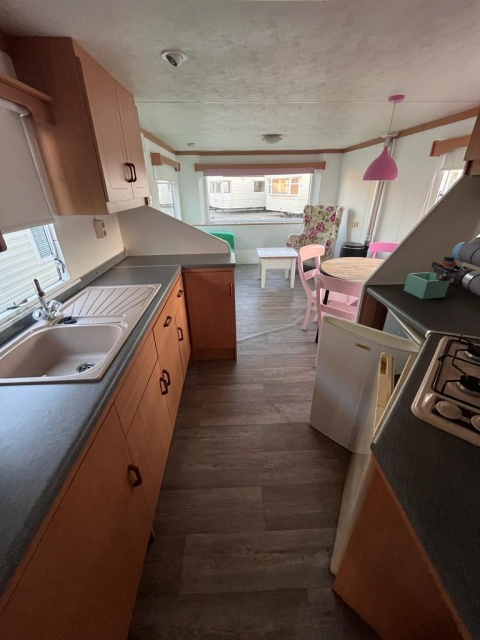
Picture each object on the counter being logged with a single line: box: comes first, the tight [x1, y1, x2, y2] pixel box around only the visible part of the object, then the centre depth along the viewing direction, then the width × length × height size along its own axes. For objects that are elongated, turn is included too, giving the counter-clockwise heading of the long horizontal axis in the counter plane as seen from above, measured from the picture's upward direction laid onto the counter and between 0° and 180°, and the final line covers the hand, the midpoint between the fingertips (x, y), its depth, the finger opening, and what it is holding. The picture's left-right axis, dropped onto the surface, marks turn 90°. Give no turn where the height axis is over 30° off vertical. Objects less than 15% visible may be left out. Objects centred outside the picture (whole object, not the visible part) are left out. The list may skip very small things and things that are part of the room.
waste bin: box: [403, 271, 452, 300], centre depth 144 cm, size 14×14×10 cm
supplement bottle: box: [435, 254, 457, 281], centre depth 124 cm, size 6×6×11 cm
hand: (440, 264), depth 129 cm, fingers closed on supplement bottle, 6 cm apart
